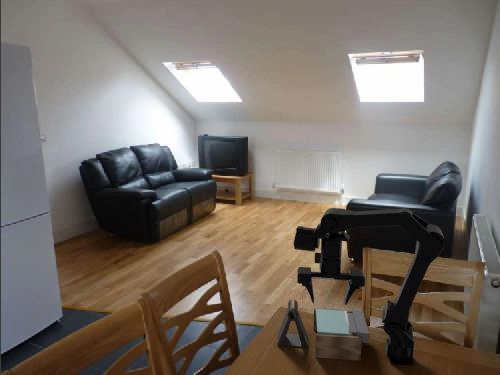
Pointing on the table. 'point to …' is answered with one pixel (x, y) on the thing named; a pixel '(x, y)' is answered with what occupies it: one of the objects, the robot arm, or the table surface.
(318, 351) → the trapdoor frame
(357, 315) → the trapdoor
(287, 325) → the phone stand
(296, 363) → the table surface
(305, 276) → the robot arm
